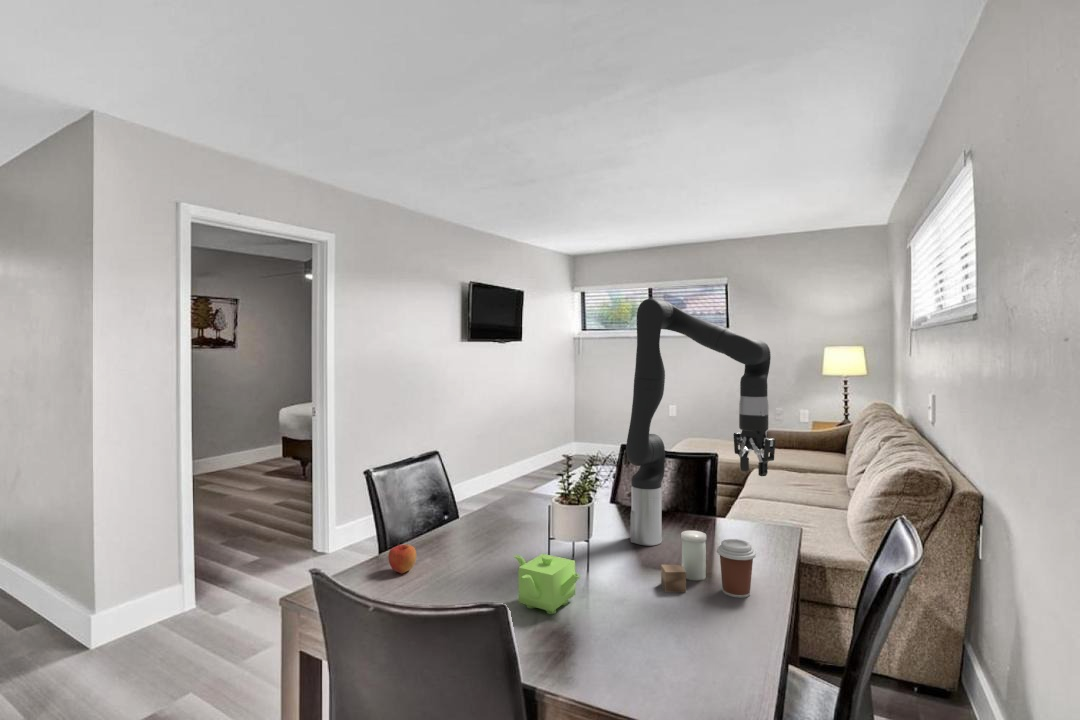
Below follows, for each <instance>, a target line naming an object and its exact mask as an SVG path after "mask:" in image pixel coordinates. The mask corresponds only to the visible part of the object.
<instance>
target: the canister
mask: <svg viewBox="0 0 1080 720" xmlns="http://www.w3.org/2000/svg"><path fill="white" fill-rule="evenodd" d="M680 537H681V565H682V567H683V568H684V570H685V571H686V580H689V581H702V580H703V581H704V580H706V576H707V574H706V572H707V571H706V569H707V568H706V562H707V560H706V558H707V555H706V547H707V545H706V544H707V543H706V540H707V534H706V533H705V532H702V531H700V530H684V531H682V532H681V533H680Z"/></svg>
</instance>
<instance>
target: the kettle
mask: <svg viewBox="0 0 1080 720" xmlns="http://www.w3.org/2000/svg"><path fill="white" fill-rule="evenodd" d="M513 557H514V558H515V559H516V560H517V562H518V563H519V567H518V604H521V605H526V608H527V609H535V608H537V609H540V610H544V611H546V614H548V615H555V614H556V613H557V609H558V608H560V607H561V606H566V605H568V604H569V601H570V599H572V598H573V597H574V596H575V595H576V583H577V581H578V580H579V578H580V577H581V575H580V574H578V573H576V561H575V560H572V559H568V558H565V557H559V556H555V555H550V554H545V553H541V554H540V555H538V556H536V557H534V558H533V559H531V560H529V561H528V562H526V560H525V558H523V556H521V555H519V554H514V555H513Z"/></svg>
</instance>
